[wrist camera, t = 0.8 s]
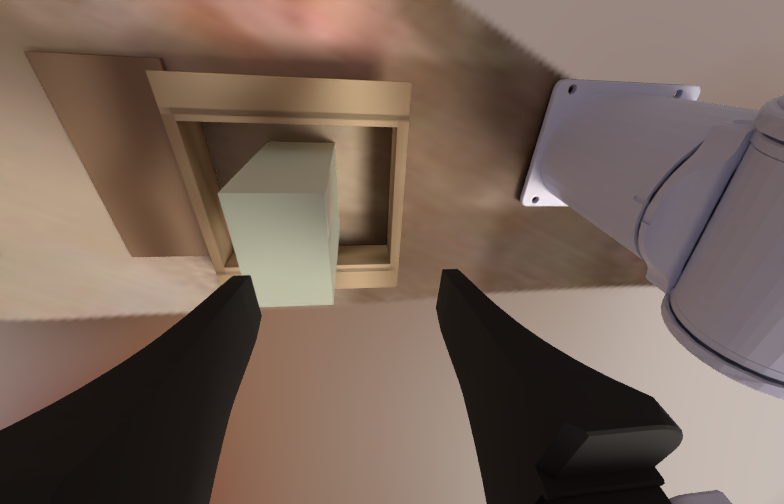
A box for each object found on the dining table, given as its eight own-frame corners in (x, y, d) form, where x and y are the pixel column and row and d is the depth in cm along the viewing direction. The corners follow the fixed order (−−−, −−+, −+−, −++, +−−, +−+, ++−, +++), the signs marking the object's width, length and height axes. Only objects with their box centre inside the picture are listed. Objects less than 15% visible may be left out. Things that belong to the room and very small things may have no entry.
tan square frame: (404, 78, 17) (411, 82, 15) (393, 266, 24) (396, 286, 22) (173, 67, 16) (145, 70, 14) (234, 270, 23) (222, 292, 21)
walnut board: (162, 58, 15) (158, 58, 15) (223, 253, 22) (222, 255, 22) (29, 51, 15) (24, 51, 14) (134, 254, 21) (131, 257, 21)
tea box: (335, 142, 19) (325, 193, 12) (340, 227, 22) (334, 304, 15) (267, 141, 18) (216, 192, 11) (282, 228, 21) (249, 307, 15)
